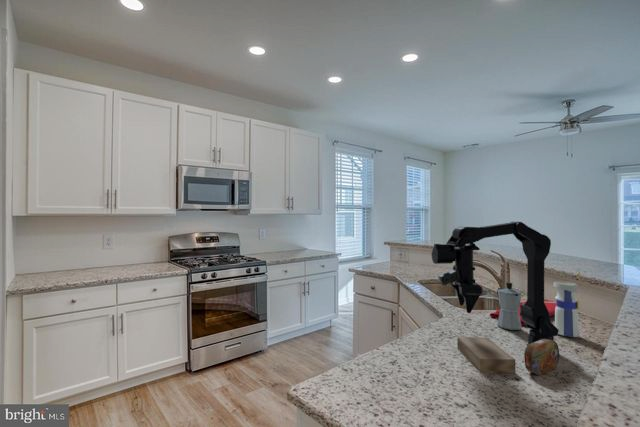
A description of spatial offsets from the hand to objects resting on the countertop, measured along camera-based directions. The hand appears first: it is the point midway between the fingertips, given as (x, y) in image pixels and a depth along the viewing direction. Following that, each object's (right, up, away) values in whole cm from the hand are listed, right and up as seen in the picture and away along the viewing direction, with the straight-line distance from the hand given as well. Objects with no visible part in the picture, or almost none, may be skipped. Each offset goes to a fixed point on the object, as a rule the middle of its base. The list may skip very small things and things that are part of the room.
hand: (464, 308), depth 111 cm
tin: (+16, -14, -15) cm, 26 cm away
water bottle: (+46, -14, +15) cm, 50 cm away
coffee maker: (+28, -14, +23) cm, 39 cm away
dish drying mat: (+49, -15, +41) cm, 65 cm away
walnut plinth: (+2, -14, -9) cm, 16 cm away
